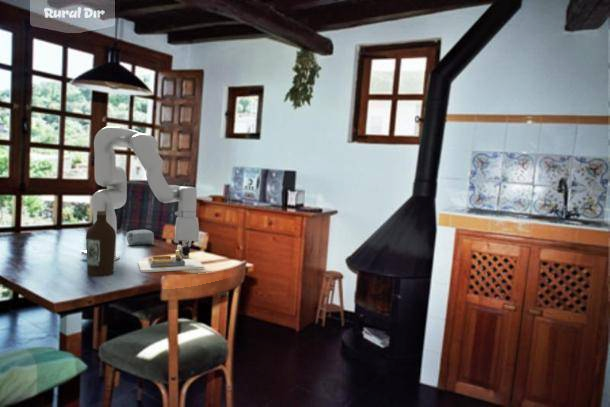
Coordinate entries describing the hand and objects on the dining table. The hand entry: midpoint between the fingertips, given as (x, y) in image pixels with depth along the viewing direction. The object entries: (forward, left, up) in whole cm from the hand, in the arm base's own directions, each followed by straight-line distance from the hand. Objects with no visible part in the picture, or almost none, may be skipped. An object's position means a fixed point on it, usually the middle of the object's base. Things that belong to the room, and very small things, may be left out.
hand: (185, 255), depth 189 cm
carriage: (-8, 0, -3) cm, 9 cm away
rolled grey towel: (-14, +50, -5) cm, 52 cm away
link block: (+2, +15, -5) cm, 16 cm away
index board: (-6, 0, -5) cm, 8 cm away
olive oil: (-34, -6, -5) cm, 35 cm away
